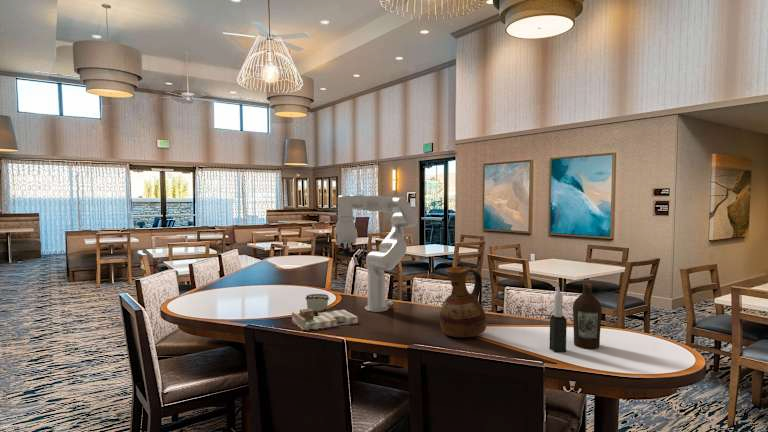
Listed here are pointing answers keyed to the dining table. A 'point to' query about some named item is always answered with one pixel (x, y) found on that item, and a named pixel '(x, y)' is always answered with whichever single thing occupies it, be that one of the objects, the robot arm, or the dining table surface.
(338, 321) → the trap board
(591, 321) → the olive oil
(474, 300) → the ceramic pitcher
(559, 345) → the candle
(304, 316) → the walnut block
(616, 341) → the dining table surface
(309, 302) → the food container
